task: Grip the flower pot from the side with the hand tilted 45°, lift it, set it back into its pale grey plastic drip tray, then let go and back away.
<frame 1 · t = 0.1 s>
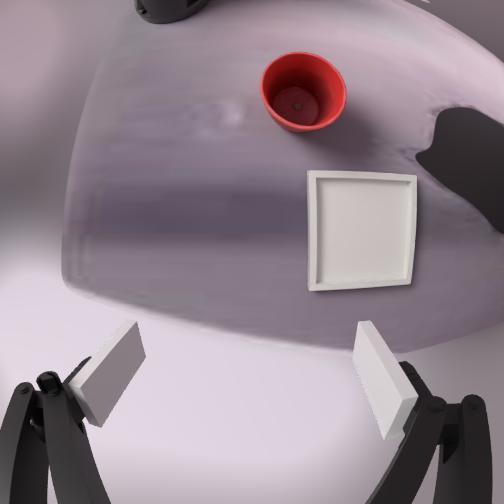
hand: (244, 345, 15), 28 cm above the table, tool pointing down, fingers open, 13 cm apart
flower pot: (295, 109, 37), on the table
drip tray: (362, 229, 40), on the table
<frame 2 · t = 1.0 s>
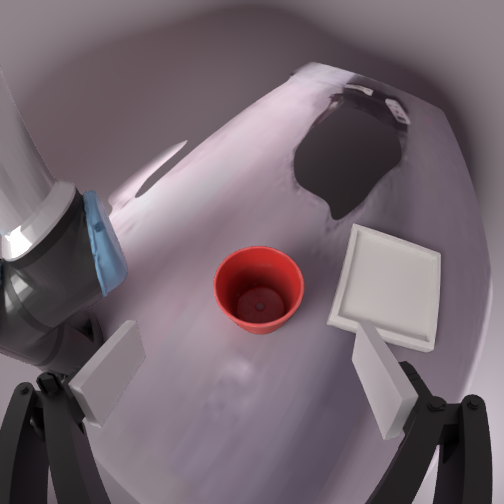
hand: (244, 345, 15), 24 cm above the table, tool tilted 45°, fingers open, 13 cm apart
flower pot: (260, 309, 40), on the table
drip tray: (389, 288, 40), on the table
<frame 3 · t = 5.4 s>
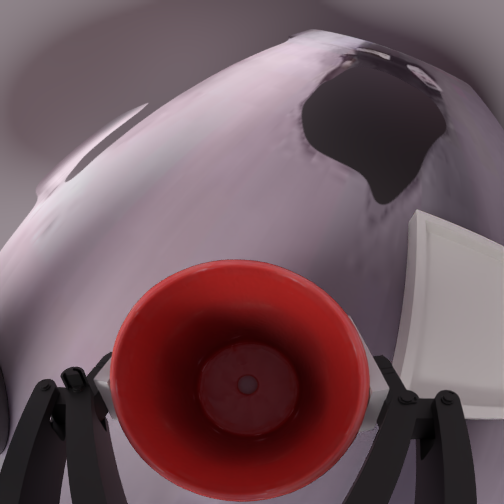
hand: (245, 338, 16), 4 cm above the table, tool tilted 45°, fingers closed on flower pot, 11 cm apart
flower pot: (249, 388, 18), on the table, touching gripper
drip tray: (476, 324, 18), on the table
when the fingers open (6 cm above the table, at t = 11.2 s): flower pot stays where it is, resting on drip tray.
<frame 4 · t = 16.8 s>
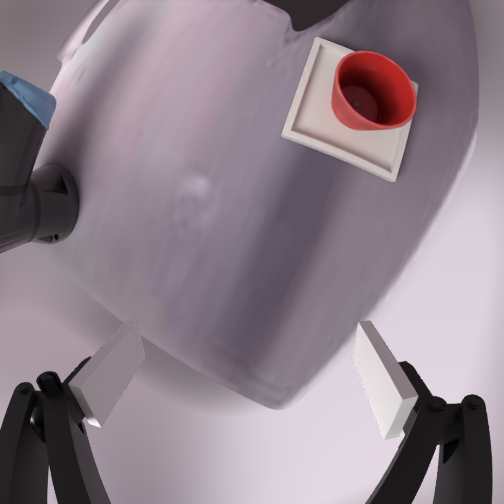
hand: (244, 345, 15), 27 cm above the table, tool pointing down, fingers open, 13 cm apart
flower pot: (355, 106, 34), point 1 cm above the table, touching drip tray
drip tray: (354, 107, 35), on the table
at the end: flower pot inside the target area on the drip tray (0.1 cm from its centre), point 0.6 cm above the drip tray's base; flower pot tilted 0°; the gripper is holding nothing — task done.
